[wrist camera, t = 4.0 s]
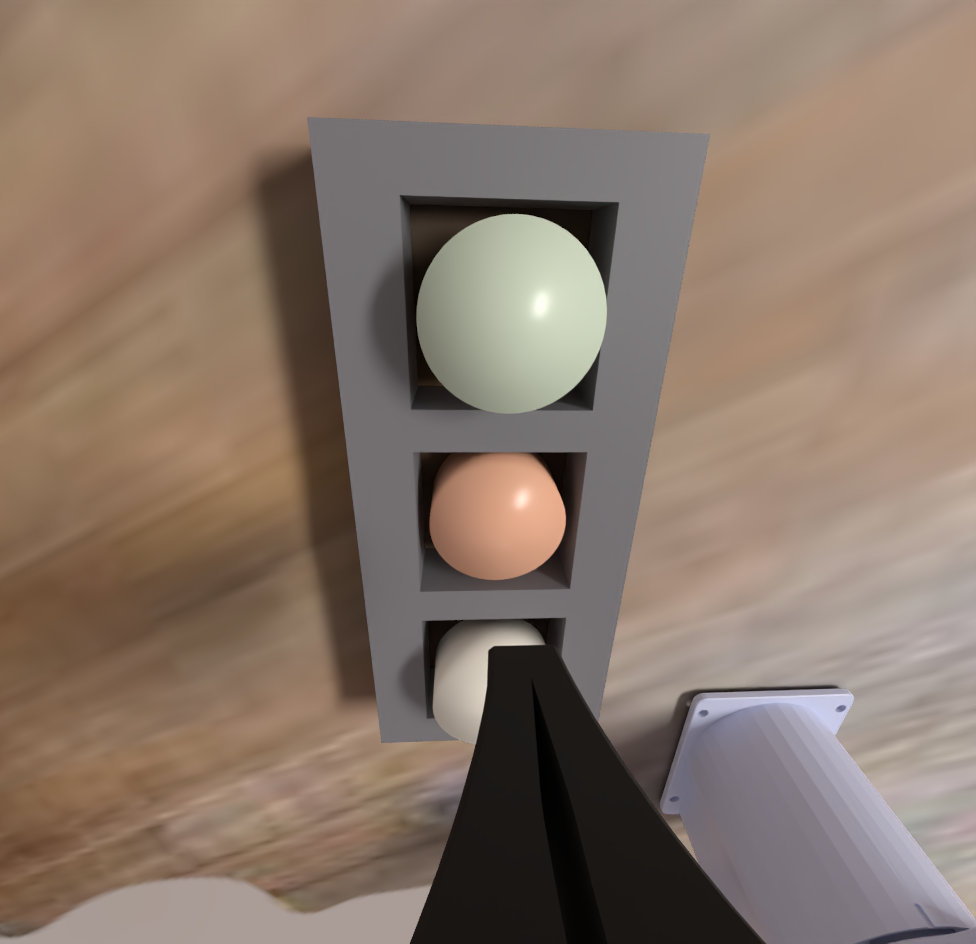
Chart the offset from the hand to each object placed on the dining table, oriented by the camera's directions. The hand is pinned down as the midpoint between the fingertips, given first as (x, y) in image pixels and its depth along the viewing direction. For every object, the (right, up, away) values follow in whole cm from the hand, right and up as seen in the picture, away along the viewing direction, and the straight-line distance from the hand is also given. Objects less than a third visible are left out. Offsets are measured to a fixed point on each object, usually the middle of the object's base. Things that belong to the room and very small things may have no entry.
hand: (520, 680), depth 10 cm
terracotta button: (-1, +4, +7) cm, 8 cm away
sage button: (0, +9, +3) cm, 9 cm away
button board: (-1, +4, +7) cm, 8 cm away
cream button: (-1, -3, +9) cm, 9 cm away
